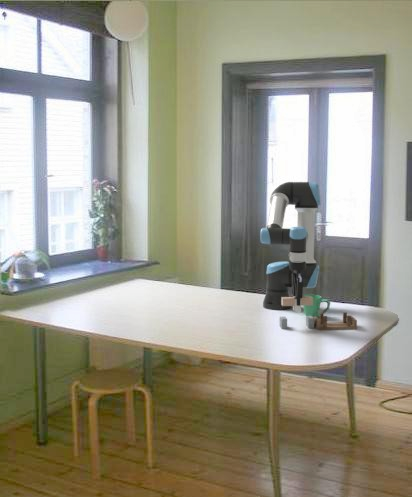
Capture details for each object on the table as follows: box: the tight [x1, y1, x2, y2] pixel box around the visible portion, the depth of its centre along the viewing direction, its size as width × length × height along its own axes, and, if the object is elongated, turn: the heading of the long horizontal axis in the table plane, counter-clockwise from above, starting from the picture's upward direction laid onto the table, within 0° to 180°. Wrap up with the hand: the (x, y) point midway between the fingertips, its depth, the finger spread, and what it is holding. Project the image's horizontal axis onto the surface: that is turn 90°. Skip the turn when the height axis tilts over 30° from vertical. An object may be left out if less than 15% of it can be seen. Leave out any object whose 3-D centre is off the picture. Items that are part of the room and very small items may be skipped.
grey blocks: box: [279, 315, 315, 330], centre depth 332 cm, size 5×15×4 cm, turn 96°
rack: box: [314, 311, 358, 331], centre depth 332 cm, size 9×18×6 cm, turn 96°
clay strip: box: [281, 296, 313, 307], centre depth 331 cm, size 3×14×4 cm, turn 96°
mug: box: [302, 294, 331, 318], centre depth 351 cm, size 15×10×10 cm
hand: (296, 311), depth 332 cm, fingers closed on clay strip, 3 cm apart
